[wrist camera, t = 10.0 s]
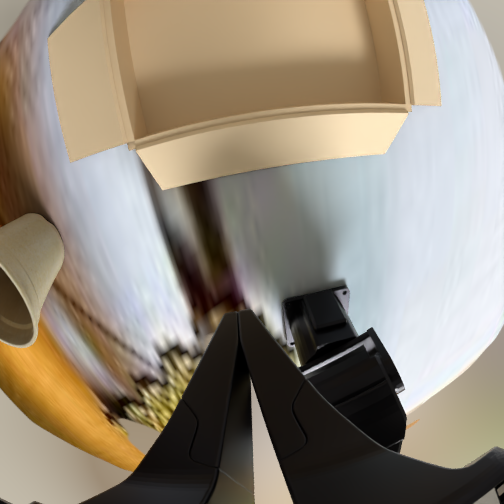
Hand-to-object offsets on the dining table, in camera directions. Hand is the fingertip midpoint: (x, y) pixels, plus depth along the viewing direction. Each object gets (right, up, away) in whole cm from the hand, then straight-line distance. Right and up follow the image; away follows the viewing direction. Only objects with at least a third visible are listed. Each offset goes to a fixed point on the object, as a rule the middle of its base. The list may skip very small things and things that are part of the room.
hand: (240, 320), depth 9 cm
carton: (+1, +15, +7) cm, 16 cm away
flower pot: (-19, +3, +11) cm, 22 cm away
